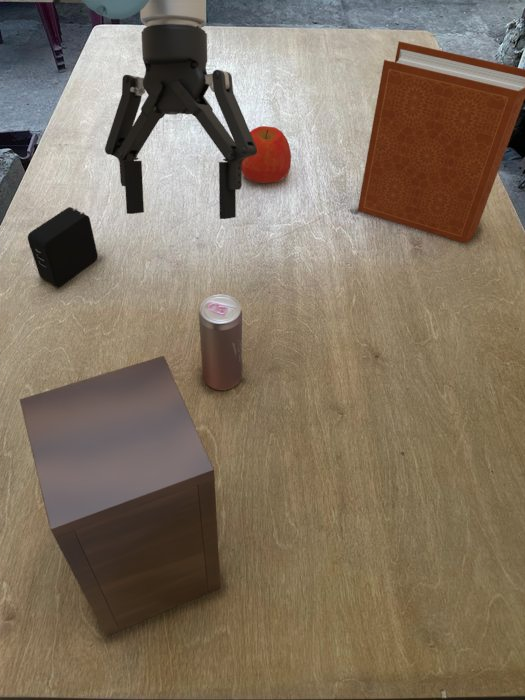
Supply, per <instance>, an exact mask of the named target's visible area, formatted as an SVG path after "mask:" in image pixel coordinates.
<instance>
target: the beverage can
mask: <svg viewBox="0 0 525 700" xmlns="http://www.w3.org/2000/svg"><path fill="white" fill-rule="evenodd" d="M198 323H199V324H198V325H199V340H200V354H201V355H200V356H201V370H202V371H201V372H202V379H203V381H204V383H205V384H207V386H209V387H210V388H211V389H214V390H216V391H227V390H229V389H233V388H234V387H235V386H237V385H238V384H239V383H240V381H241V379H242V377H243V375H242V374H243V311H242V306H241V303H240V302H239V301H238V299H236V298H235V297H233V296H231V295H228V294H222V293H219V294H213V295H210V296H208V297H207V298H205V299H204V300H203V301H202V302H201V304H200V306H199V312H198Z"/></svg>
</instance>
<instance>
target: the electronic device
mask: <svg viewBox="0 0 525 700" xmlns="http://www.w3.org/2000/svg"><path fill="white" fill-rule="evenodd" d="M91 223H92V222H91V219H90V216H89V215H87V214H85V212H84V211H80V210H78V208H76V207H75V208H73V207H71V206H69V207H67V208H65V209H63V210H62V211H60V212H59V213H57V214H56V215H54V216H53V217H51V218H50V219H48V220H46V221H45V222H43V223H42V224H40V225H39V226H38V227H36V228H34V229H32V231H30V232H29V233H28V235H27V241H28V244H29V248H30V251H31V254H32V257H33V260H34V264H35V266H36V269H37V272H38V275H39V278H40V279H42V280H44V281H46V282H47V283H49V284H50V285H52V286H54V287H56V288H61V287H63V286H64V285H66V284H67V283H68V282H69V281H71V280H72V279H73V278H75V277H76V276H77V275H79V274H80V273H82V272H83V271H84V270H86V269H87V268H88V267H90V266H91V265H93V264H94V263H95V262H96V261H97V260H98V256H99V255H98V251H97V246H96V242H95V241H96V240H95V236H94V232H93V228H92V224H91Z"/></svg>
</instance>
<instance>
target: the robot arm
mask: <svg viewBox="0 0 525 700" xmlns="http://www.w3.org/2000/svg"><path fill="white" fill-rule="evenodd" d="M0 2H8V3H9V2H11V3H13V2H15V3H16V2H17V3H65V4H67V3H69V4H85V6H86V7H87V8H88V9H89V10H91V11H93V12H94V13H95V14H97V15H99V16H102V17H104V18H107V19H112V20H124V19H128V18H130V17H133V16H135V15H136V14H138V13H139V14H140V15H139V16H140V22H141V23H142V24H143V25H144V26H146V27H144V28H143V29H142V31H141V48H142V49H141V51H142V62H143V64H144V68H145V72H144V76H143V77H140V76H136V75H131V74H124V75H123V76H122V79H121V97H120V99H119V103H118V105H117V108H116V112H115V115H114V118H113V121H112V125H111V127H110V131H109V134H108V136H107V141H106V143H105V146H104V152H105V154H106V155H109V156H113V157H115V158H116V159H118V162H119V174H120V176H119V177H120V178H119V179H120V180H119V181H120V184H121V187H124V189H125V210H126V214H127V215H135V214H142V213H145V206H144V205H145V203H144V186H143V185H144V183H143V162H142V160H139V159H140V158H139V157H138V155H139V153H140V151H141V150H142V148H143V147H144V145H145V143H146V142H147V140H148V139H149V137H150V136H151V134H152V132H153V131H154V130H155V127H156V126H157V124H158V123H159V121H160V120H161V119H162V118H164V117H165V115H170V116H171V115H174V116H175V115H178V114H180V115H192V116H193V117H195V118H196V120H197V121H198V123H199V124H200V126H201V127H202V129H203V130H204V131H205V133H206V134H207V135H208V137H209V138H210V139H211V141H212V143H213V144H214V145H215V147H216V148H217V149H218V151H219V152H220V153H221V155H222V157H223V159H222V160H223V161H218V190H219V191H218V194H219V199H218V200H219V201H218V202H219V204H218V205H219V220H227V219H228V220H229V219H234V218H236V217H237V214H236V213H237V211H236V210H237V209H236V208H237V207H236V205H237V204H236V202H237V201H236V200H237V197H236V196H237V195H236V194H237V191H238V190H239V191H240V190H241V188H242V185H243V183H242V180H243V179H242V178H243V177H242V176H243V173H242V161H243V160H244V159H245V158H247V157H250V156H254V155H255V154H256V153H257V147H256V145H255V143H254V140H253V138H252V136H251V133H250V132H251V130H250V129H249V126H248V124H247V122H246V119H245V117H244V114H243V112H242V110H241V108H240V107H241V106H240V105H239V102H238V100H237V98H236V96H235V93H234V86H233V77H232V74H231V73H230V72H228V71H225V70H221V69H215V70H213V72H212V73H208V71H207V63H208V33H207V32H206V31H205V30H204V29H203V28H204V27H205V26H206V25H207V0H0ZM209 88H210V90H211V92H213V93H214V96H215V99H216V102H217V104H218V106H219V109H220V111H221V113H222V115H223V117H224V120H225V123H226V126H227V128H228V129H229V132H230V133H229V132H228V131H227V130H226V128H225V126H224V125H223V123H222V122H221V121H220V119H219V118H218V117H217V115H216V114H215V112H214V109H213V106H211V104H210V103H209V101H208V100H207V99H206V97H205V95H206V93H207V91H208V89H209ZM145 93H146V94H147V95H148V96H147V97H146V99H145V101H144V102H143V104H142V105H141V102H142V96H143V95H144V94H145ZM140 105H141V106H140ZM140 107H141V108H140ZM139 109H140V111H141V112H140V113H139V115H138V117H137V114H138V111H139Z"/></svg>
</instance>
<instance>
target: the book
mask: <svg viewBox="0 0 525 700" xmlns="http://www.w3.org/2000/svg"><path fill="white" fill-rule="evenodd" d="M394 58H395V59H394V61H393V60H387V59H384V60H383V65H382V69H381V76H380V81H379V87H378V92H377V97H376V98H377V99H376V104H375V110H374V114H373V115H374V116H373V122H372V125H371V132H370V138H369V143H368V149H367V155H366V161H365V167H364V172H363V177H362V183H361V189H360V194H359V200H358V207H357V212H360V213H363V214H367V215H370V216H373V217H377V218H380V219H383V220H385V221H386V220H387V221H389V222H392V223H396V224H399V225H403V226H406V227H409V228H413V229H416V230H419V231H423V232H426V233H429V234H432V235H436V236H439V237H442V238H446V239H449V240H452V241H455V242H458V243H463V244H467V243H468V242H470V241H471V240H473V238H474V237H475V235H476V233H477V231H478V228H479V225H480V222H481V221H482V220H481V219H482V217H483V214H484V211H485V209H486V206H487V203H488V201H489V198H490V196H491V195H490V194H491V192H492V189H493V186H494V184H495V181H496V179H497V176H498V172H499V170H500V167H501V165H502V161H503V159H504V156H505V154H506V151H507V148H508V145H509V142H510V140H511V136H512V134H513V131H514V129H515V126H516V124H517V120H518V118H519V115H520V112H521V110H522V106H523V104H524V101H525V68H521V67H517V66H513V65H508V64H503V63H499V62H494V61H490V60H485V59H480V58H476V57H472V56H468V55H463V54H458V53H453V52H449V51H444V50H440V49H435V48H431V47H426V46H422V45H418V44H413V43H408V42H405V41H400V40H399V41H398V43H397V49H396V53H395V57H394Z"/></svg>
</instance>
